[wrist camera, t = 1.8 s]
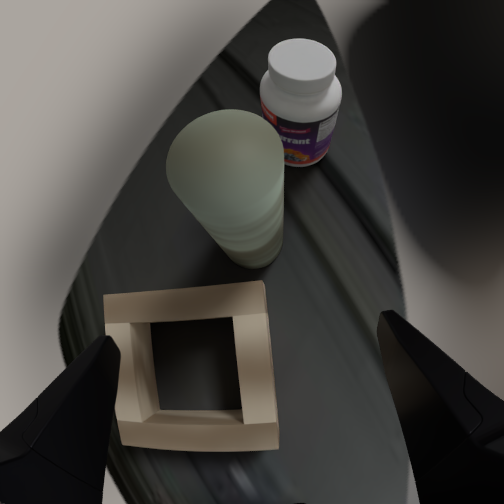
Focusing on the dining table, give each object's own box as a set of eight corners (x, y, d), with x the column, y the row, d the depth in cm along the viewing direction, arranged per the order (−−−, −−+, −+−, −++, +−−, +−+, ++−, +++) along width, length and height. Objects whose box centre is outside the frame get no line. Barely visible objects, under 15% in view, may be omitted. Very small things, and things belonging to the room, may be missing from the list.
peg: (286, 265, 22) (292, 204, 10) (226, 272, 23) (165, 221, 11) (279, 208, 23) (275, 103, 11) (221, 215, 24) (167, 120, 12)
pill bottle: (252, 148, 25) (236, 65, 15) (287, 107, 25) (287, 22, 16) (307, 181, 24) (320, 103, 14) (340, 136, 24) (362, 54, 15)
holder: (279, 430, 20) (278, 449, 17) (141, 430, 21) (122, 444, 17) (264, 285, 22) (262, 280, 19) (126, 298, 23) (103, 294, 20)
